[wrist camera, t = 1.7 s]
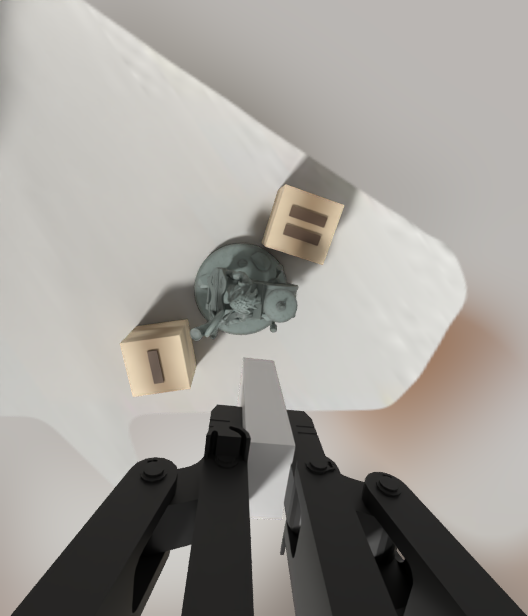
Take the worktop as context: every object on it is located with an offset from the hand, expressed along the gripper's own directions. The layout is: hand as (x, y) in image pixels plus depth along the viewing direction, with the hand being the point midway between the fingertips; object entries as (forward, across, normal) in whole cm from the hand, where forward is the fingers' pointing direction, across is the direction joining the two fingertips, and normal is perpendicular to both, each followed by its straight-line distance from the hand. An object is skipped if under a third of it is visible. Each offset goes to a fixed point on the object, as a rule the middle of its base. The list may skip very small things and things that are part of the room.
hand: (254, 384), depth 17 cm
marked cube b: (+24, +5, +8) cm, 26 cm away
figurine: (+24, 0, 0) cm, 24 cm away
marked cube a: (+24, -8, -8) cm, 27 cm away
